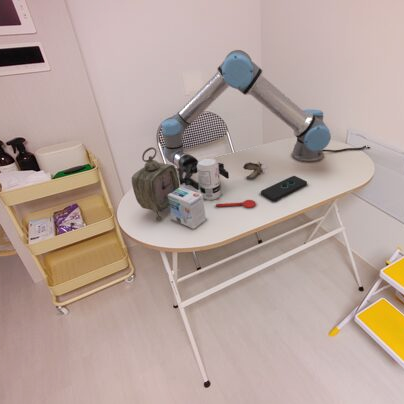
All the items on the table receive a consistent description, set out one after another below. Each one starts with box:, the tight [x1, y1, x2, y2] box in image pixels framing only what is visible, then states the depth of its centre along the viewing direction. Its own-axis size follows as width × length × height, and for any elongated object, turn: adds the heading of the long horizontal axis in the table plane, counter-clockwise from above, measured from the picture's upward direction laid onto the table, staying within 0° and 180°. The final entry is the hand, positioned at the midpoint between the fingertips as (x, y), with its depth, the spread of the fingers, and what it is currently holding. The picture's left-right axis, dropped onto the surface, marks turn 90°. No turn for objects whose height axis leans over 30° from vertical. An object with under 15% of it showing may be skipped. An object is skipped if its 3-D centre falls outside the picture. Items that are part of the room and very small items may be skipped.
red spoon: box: [215, 199, 256, 209], centre depth 116 cm, size 15×5×1 cm, turn 96°
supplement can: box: [197, 157, 222, 201], centre depth 118 cm, size 8×8×15 cm
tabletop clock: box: [131, 146, 180, 221], centre depth 107 cm, size 14×9×25 cm, turn 160°
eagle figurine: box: [242, 161, 267, 181], centre depth 135 cm, size 8×7×9 cm
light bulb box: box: [168, 186, 207, 230], centre depth 106 cm, size 11×7×11 cm, turn 58°
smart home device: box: [260, 175, 308, 203], centre depth 125 cm, size 8×2×20 cm
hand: (213, 181), depth 116 cm, fingers open, 13 cm apart
